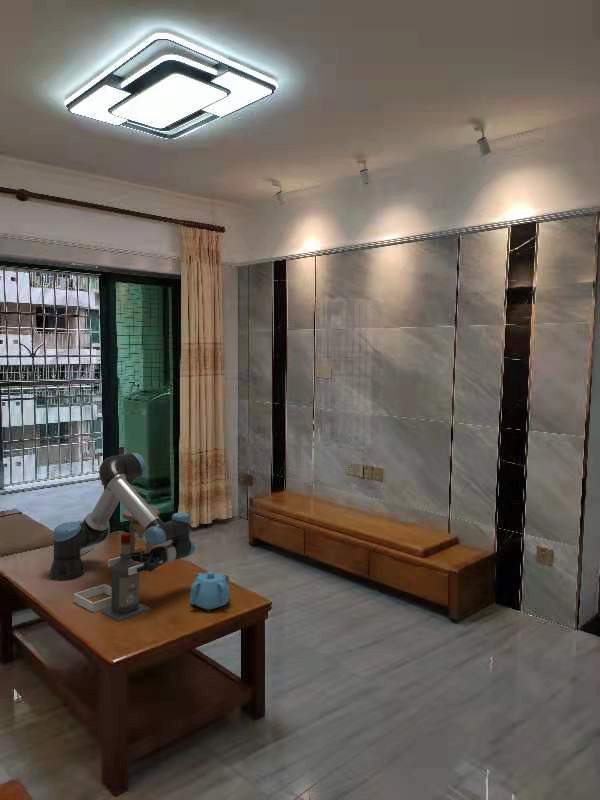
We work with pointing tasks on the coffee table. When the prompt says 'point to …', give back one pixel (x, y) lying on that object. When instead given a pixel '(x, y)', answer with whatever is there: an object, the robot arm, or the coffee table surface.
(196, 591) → the decorative pot
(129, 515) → the hourglass
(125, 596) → the liquor
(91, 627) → the coffee table surface
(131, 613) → the slate coaster
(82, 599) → the bottle holder
